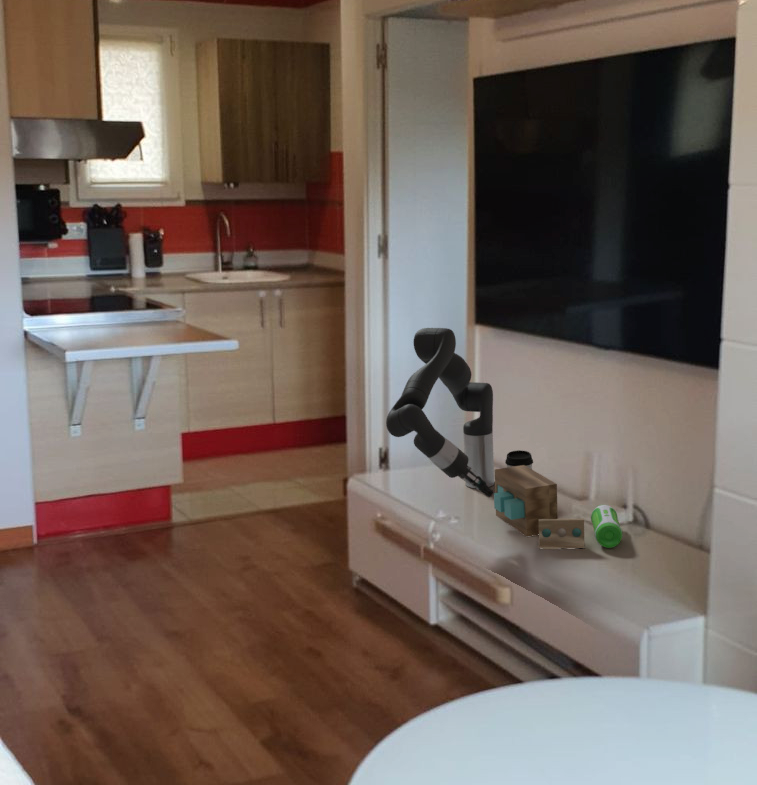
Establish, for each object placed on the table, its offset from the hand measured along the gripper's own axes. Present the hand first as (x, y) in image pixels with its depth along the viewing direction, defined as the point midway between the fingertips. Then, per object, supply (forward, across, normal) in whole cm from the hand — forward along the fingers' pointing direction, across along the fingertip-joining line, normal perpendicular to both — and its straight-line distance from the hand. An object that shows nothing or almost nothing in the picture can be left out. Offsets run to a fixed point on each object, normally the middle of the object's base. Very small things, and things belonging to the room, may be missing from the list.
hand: (490, 494), depth 321 cm
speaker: (+29, -14, -10) cm, 34 cm away
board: (+19, -14, -1) cm, 24 cm away
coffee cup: (+24, +26, -6) cm, 36 cm away
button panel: (+19, +7, -1) cm, 20 cm away
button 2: (+11, 0, 0) cm, 11 cm away
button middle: (+11, +7, 0) cm, 13 cm away
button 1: (+14, +14, -3) cm, 20 cm away
